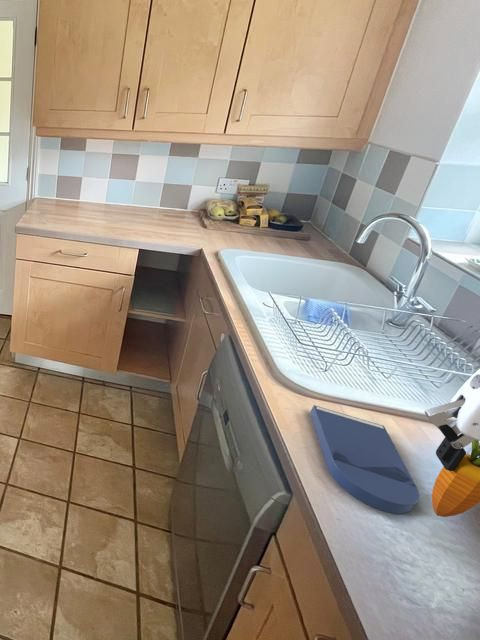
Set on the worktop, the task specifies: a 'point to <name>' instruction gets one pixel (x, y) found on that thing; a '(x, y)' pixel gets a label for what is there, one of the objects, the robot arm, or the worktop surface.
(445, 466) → the robot arm
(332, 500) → the worktop surface
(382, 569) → the worktop surface
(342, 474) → the board
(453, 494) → the carrot
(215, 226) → the worktop surface
